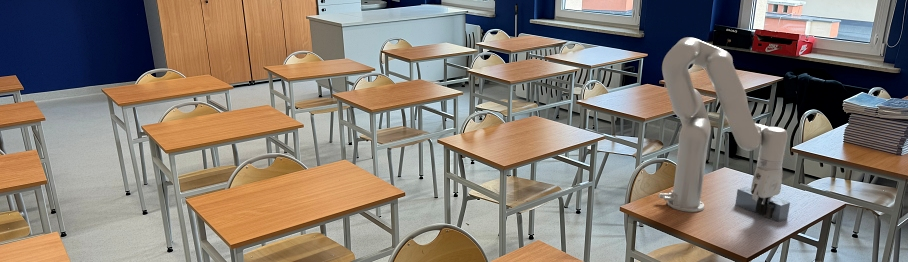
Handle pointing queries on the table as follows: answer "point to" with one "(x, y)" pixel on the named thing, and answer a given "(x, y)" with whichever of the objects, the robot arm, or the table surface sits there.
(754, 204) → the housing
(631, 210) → the table surface
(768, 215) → the plug
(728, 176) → the table surface
